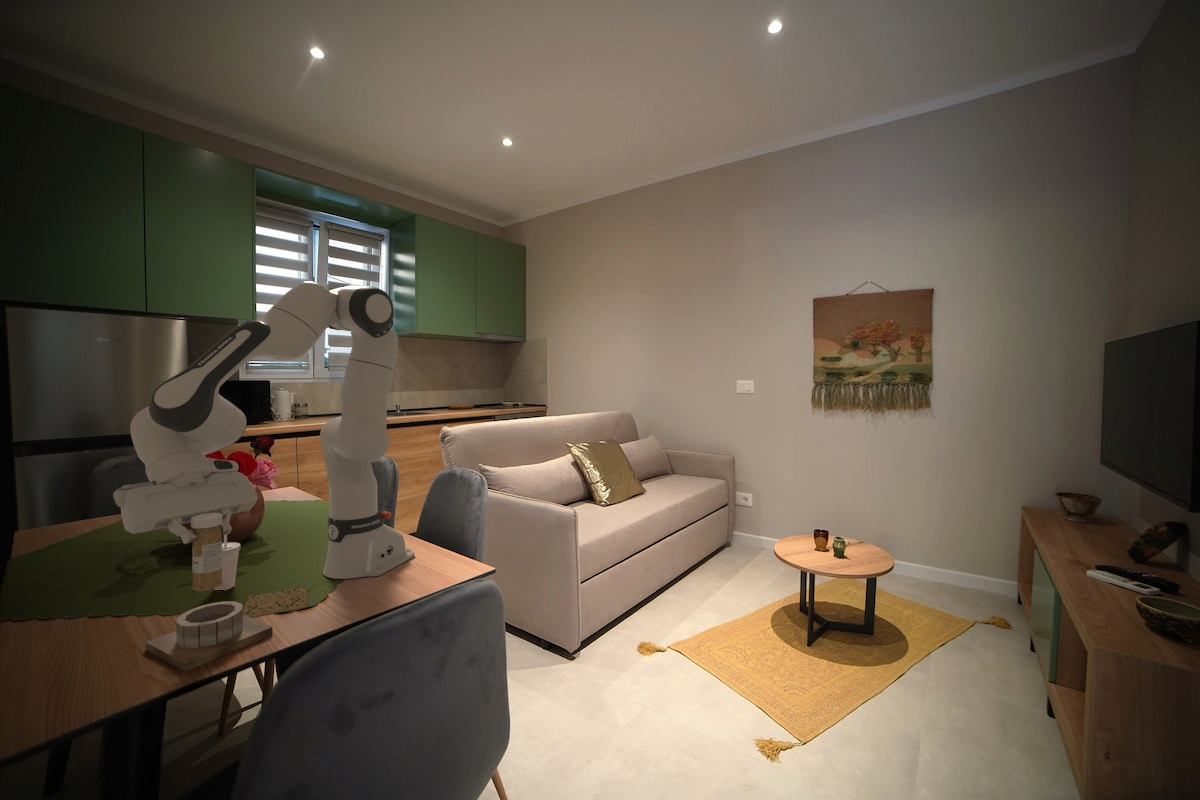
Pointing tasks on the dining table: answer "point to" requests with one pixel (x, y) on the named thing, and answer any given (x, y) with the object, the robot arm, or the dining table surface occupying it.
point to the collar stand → (208, 635)
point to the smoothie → (229, 563)
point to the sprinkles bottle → (207, 551)
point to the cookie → (276, 602)
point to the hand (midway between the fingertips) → (209, 536)
